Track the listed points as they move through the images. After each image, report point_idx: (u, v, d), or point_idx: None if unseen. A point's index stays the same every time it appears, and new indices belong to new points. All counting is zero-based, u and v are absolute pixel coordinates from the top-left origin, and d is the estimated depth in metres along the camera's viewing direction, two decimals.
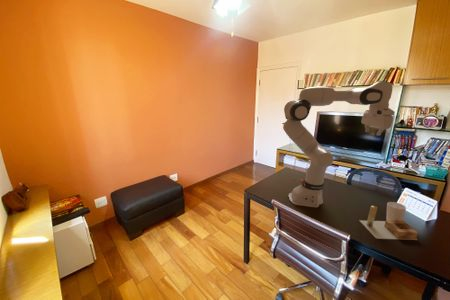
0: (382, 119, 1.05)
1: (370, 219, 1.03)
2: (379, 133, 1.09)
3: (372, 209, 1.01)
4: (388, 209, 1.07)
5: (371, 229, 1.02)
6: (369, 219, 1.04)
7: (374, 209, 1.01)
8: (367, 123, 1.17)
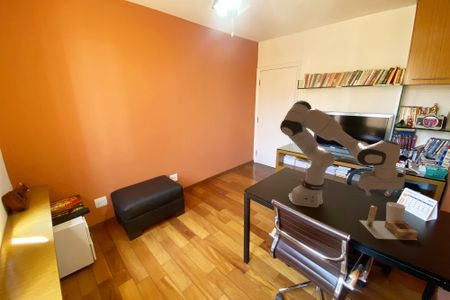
0: (400, 180, 0.94)
1: (370, 219, 1.03)
2: None
3: (372, 209, 1.01)
4: (388, 208, 1.08)
5: (371, 229, 1.02)
6: (369, 219, 1.04)
7: (374, 209, 1.01)
8: (374, 187, 0.96)
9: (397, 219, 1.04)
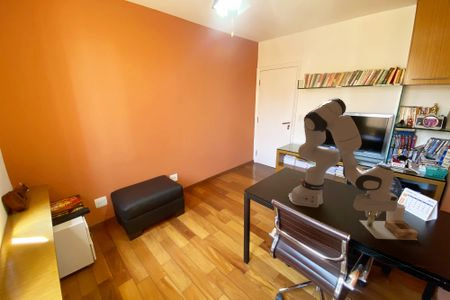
0: (393, 203, 0.98)
1: (370, 219, 1.03)
2: None
3: None
4: None
5: (371, 229, 1.02)
6: (369, 219, 1.04)
7: None
8: (369, 209, 1.00)
9: (397, 219, 1.04)
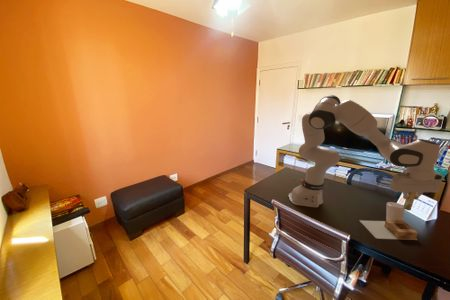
0: (436, 183, 0.88)
1: (408, 202, 0.93)
2: None
3: None
4: (388, 208, 1.08)
5: (371, 229, 1.02)
6: (407, 202, 0.93)
7: None
8: (408, 190, 0.90)
9: (397, 219, 1.04)
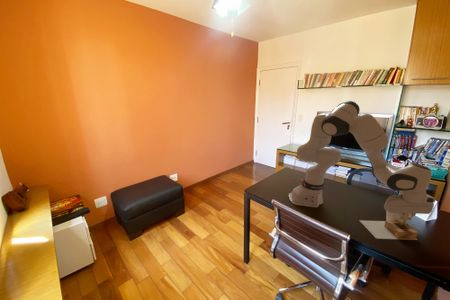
0: (428, 205, 0.92)
1: (402, 222, 0.96)
2: None
3: None
4: None
5: (371, 229, 1.02)
6: (401, 222, 0.97)
7: None
8: (401, 211, 0.94)
9: (397, 219, 1.04)
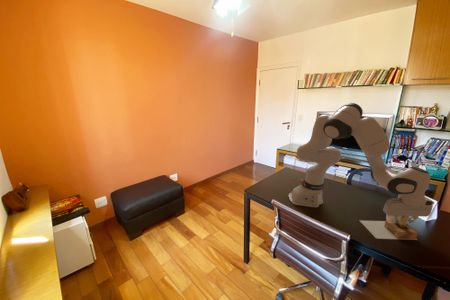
0: (427, 208, 0.93)
1: (400, 226, 0.98)
2: None
3: (404, 216, 0.96)
4: None
5: (371, 229, 1.02)
6: (399, 226, 0.98)
7: (406, 216, 0.95)
8: (400, 214, 0.95)
9: None
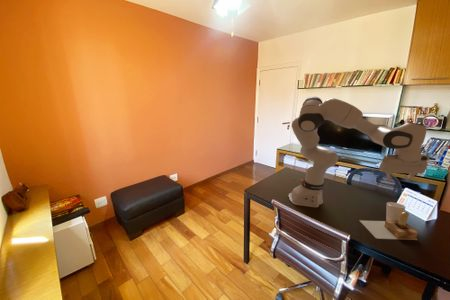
0: (422, 164, 0.93)
1: (400, 226, 0.98)
2: None
3: (403, 215, 0.96)
4: (388, 208, 1.08)
5: (371, 229, 1.02)
6: (399, 226, 0.98)
7: (405, 215, 0.95)
8: (396, 171, 0.95)
9: (397, 219, 1.04)
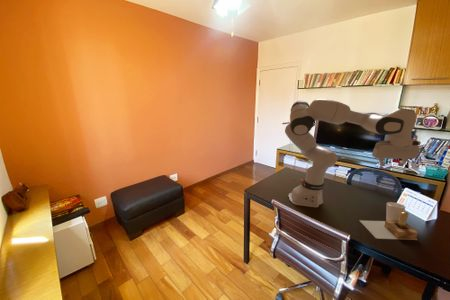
0: (414, 149, 0.95)
1: (400, 226, 0.98)
2: None
3: (403, 215, 0.96)
4: (388, 208, 1.08)
5: (371, 229, 1.02)
6: (399, 226, 0.98)
7: (405, 215, 0.95)
8: (389, 157, 0.97)
9: (397, 219, 1.04)
